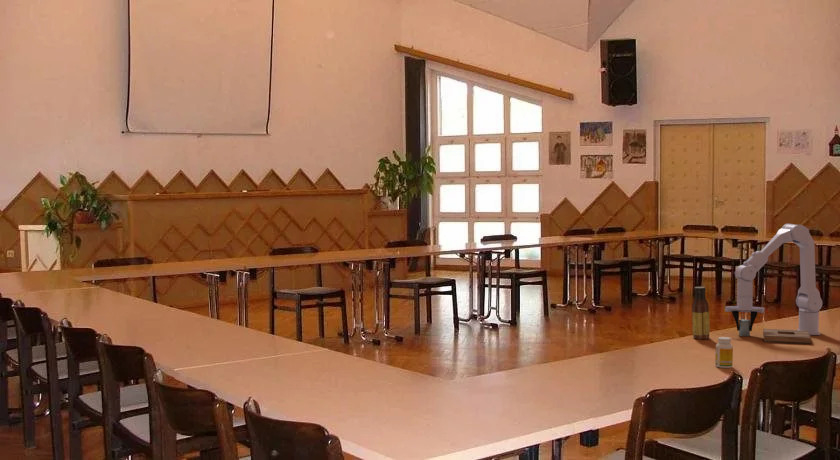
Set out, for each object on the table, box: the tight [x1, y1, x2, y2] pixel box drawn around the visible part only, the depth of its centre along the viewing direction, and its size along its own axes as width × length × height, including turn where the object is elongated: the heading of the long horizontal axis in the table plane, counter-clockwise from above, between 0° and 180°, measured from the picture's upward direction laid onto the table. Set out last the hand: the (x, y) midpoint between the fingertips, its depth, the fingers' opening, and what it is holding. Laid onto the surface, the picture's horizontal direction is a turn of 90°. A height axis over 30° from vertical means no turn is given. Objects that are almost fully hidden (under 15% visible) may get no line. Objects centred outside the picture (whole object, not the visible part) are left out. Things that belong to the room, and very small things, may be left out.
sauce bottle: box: [691, 286, 710, 340], centre depth 355 cm, size 7×6×20 cm
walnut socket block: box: [762, 328, 812, 345], centre depth 351 cm, size 16×16×2 cm
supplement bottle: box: [714, 336, 734, 369], centre depth 303 cm, size 5×5×10 cm
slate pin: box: [738, 318, 751, 337], centre depth 361 cm, size 4×4×6 cm
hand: (744, 330), depth 361 cm, fingers closed on slate pin, 4 cm apart
